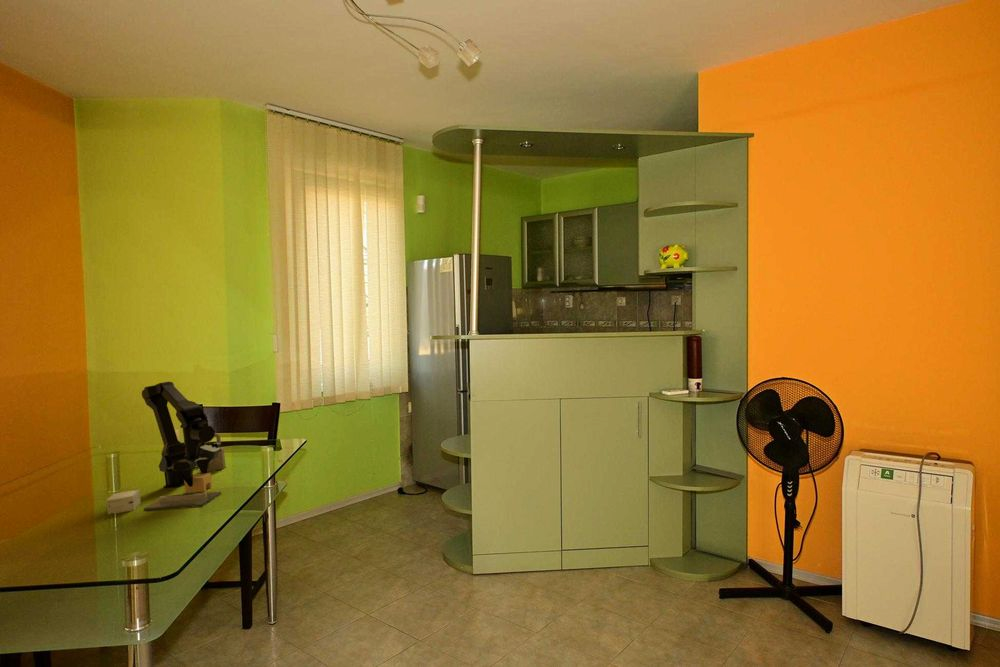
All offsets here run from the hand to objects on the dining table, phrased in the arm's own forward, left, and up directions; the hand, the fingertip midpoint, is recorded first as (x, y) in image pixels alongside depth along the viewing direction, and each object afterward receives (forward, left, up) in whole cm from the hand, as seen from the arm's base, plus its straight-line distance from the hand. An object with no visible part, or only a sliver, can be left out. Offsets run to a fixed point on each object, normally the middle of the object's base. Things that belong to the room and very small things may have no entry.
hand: (198, 482), depth 208 cm
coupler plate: (+2, -13, -3) cm, 14 cm away
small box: (-17, -15, -3) cm, 23 cm away
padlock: (-9, +27, -3) cm, 28 cm away
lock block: (0, 0, -3) cm, 3 cm away
